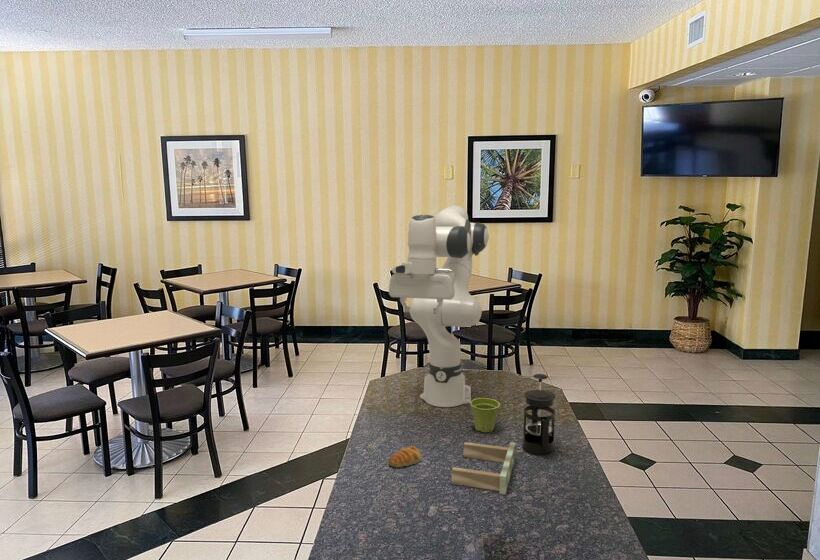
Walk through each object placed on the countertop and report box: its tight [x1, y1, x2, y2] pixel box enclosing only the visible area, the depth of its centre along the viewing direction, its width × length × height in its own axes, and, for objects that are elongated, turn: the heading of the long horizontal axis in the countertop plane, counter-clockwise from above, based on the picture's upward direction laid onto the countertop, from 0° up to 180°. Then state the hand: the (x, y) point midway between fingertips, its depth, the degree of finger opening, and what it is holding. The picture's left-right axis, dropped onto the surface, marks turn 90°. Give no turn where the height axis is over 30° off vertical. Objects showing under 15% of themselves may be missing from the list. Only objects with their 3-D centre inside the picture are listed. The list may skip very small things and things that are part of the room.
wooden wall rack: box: [451, 441, 516, 495], centre depth 164 cm, size 20×14×5 cm
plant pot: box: [469, 397, 501, 433], centre depth 191 cm, size 9×9×9 cm
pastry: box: [388, 445, 423, 469], centre depth 170 cm, size 9×7×4 cm
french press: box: [522, 373, 556, 457], centre depth 175 cm, size 12×9×23 cm
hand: (421, 313), depth 183 cm, fingers open, 8 cm apart
